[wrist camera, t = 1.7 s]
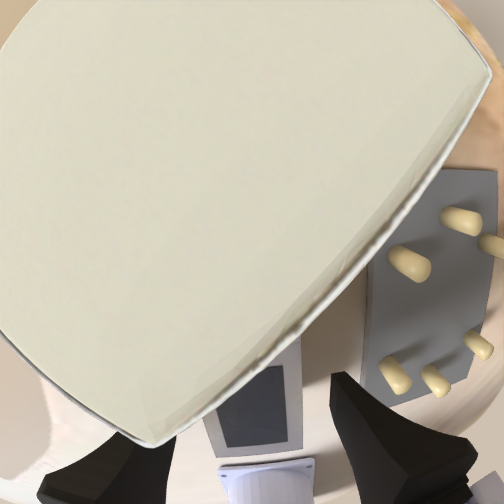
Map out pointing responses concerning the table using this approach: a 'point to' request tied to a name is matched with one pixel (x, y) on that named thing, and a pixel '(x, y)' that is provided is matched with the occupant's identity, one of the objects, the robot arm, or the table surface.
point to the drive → (262, 411)
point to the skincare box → (207, 183)
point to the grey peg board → (432, 290)
